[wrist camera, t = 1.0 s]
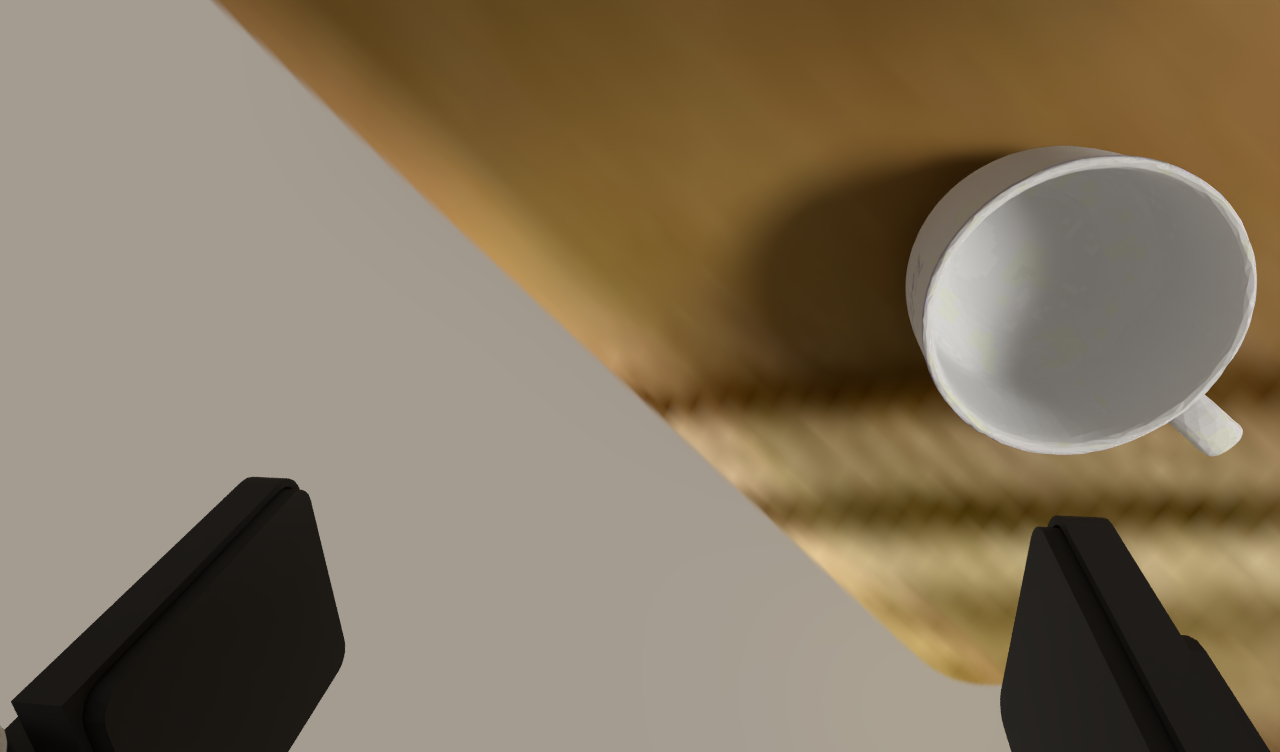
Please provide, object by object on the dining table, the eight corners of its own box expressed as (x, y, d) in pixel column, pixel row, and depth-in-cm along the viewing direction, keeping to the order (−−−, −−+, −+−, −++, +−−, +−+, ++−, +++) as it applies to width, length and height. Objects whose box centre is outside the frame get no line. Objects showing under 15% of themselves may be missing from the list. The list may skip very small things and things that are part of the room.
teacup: (842, 234, 37) (861, 295, 29) (1077, 63, 33) (1165, 86, 25) (1015, 457, 40) (1070, 562, 33) (1247, 327, 36) (1367, 413, 29)
